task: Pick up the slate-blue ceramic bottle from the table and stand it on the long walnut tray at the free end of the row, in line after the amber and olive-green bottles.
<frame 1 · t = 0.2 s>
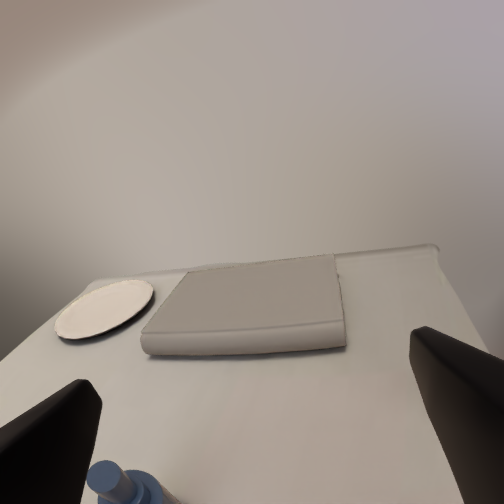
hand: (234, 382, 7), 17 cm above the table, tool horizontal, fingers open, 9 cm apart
book: (251, 317, 41), on the table
plate: (105, 313, 51), on the table
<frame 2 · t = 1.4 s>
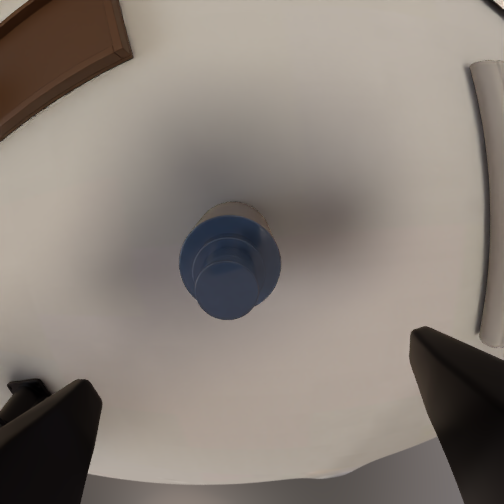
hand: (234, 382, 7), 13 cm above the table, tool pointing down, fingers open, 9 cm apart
blue bottle: (232, 239, 20), on the table
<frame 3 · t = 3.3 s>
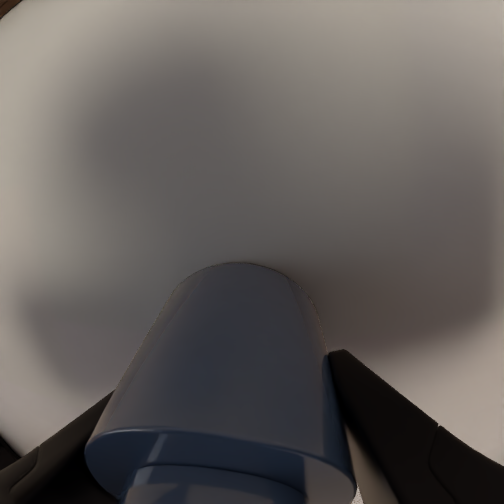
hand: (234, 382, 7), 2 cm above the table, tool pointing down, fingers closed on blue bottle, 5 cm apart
blue bottle: (240, 336, 9), on the table, touching gripper
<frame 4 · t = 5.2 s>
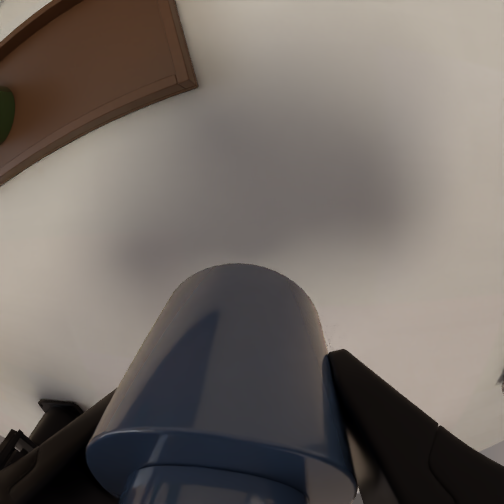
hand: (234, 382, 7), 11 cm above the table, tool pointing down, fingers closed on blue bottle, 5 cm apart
tray: (9, 110, 15), on the table
blue bottle: (240, 336, 9), point 9 cm above the table, touching gripper
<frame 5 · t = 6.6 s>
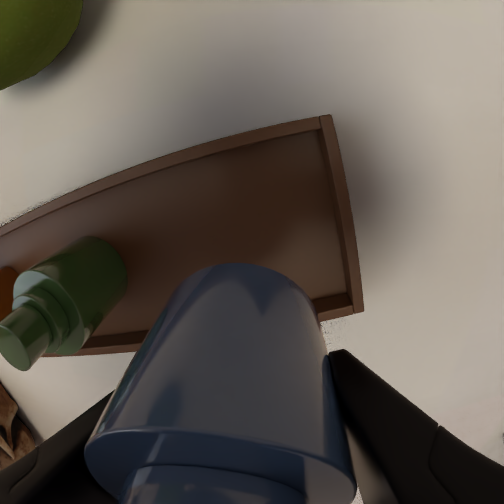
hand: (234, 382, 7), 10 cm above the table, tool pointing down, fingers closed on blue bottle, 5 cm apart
tray: (111, 265, 18), on the table
green bottle: (94, 272, 17), point 1 cm above the table, touching tray
amber bottle: (13, 293, 18), point 1 cm above the table, touching tray
blue bottle: (240, 336, 9), point 8 cm above the table, touching gripper
apple: (52, 32, 13), on the table
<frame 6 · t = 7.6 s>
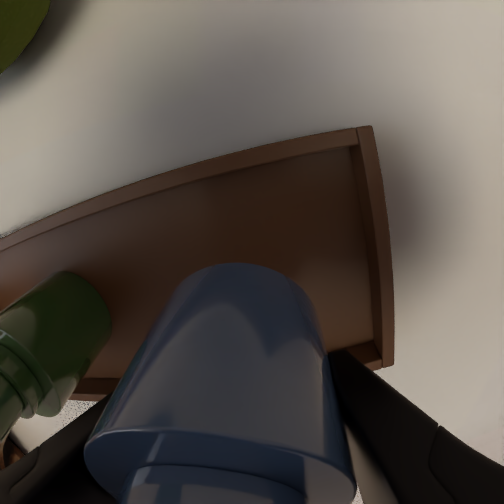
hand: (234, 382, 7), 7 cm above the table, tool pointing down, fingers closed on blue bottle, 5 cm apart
tray: (92, 304, 14), on the table
green bottle: (74, 312, 14), point 1 cm above the table, touching tray
blue bottle: (239, 336, 9), point 5 cm above the table, touching gripper
apple: (22, 24, 9), on the table
when the fingers open (3 cm above the table, at t = 9.2 s): blue bottle stays where it is, resting on tray.
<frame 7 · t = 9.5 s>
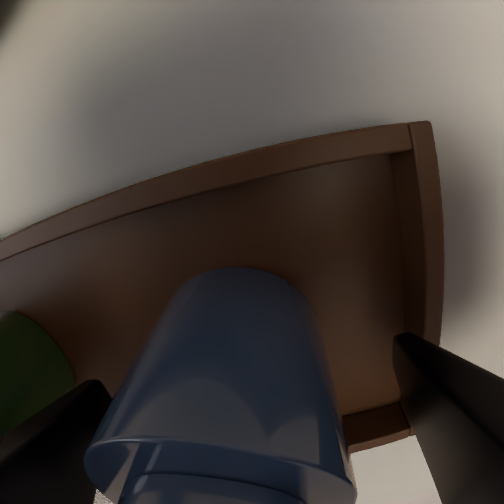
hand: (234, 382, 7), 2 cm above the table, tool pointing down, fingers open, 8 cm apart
tray: (52, 350, 11), on the table
green bottle: (32, 358, 10), point 1 cm above the table, touching tray
blue bottle: (239, 340, 9), point 1 cm above the table, touching tray
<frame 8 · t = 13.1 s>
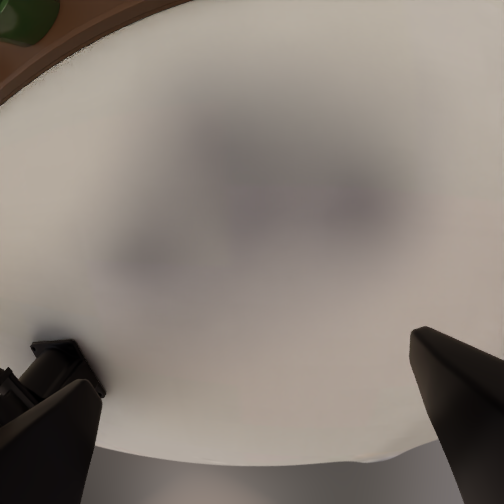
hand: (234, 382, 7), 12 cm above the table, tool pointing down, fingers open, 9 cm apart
tray: (50, 15, 13), on the table
green bottle: (36, 20, 13), point 1 cm above the table, touching tray
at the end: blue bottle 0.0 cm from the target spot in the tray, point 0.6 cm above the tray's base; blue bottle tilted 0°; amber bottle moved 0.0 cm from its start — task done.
